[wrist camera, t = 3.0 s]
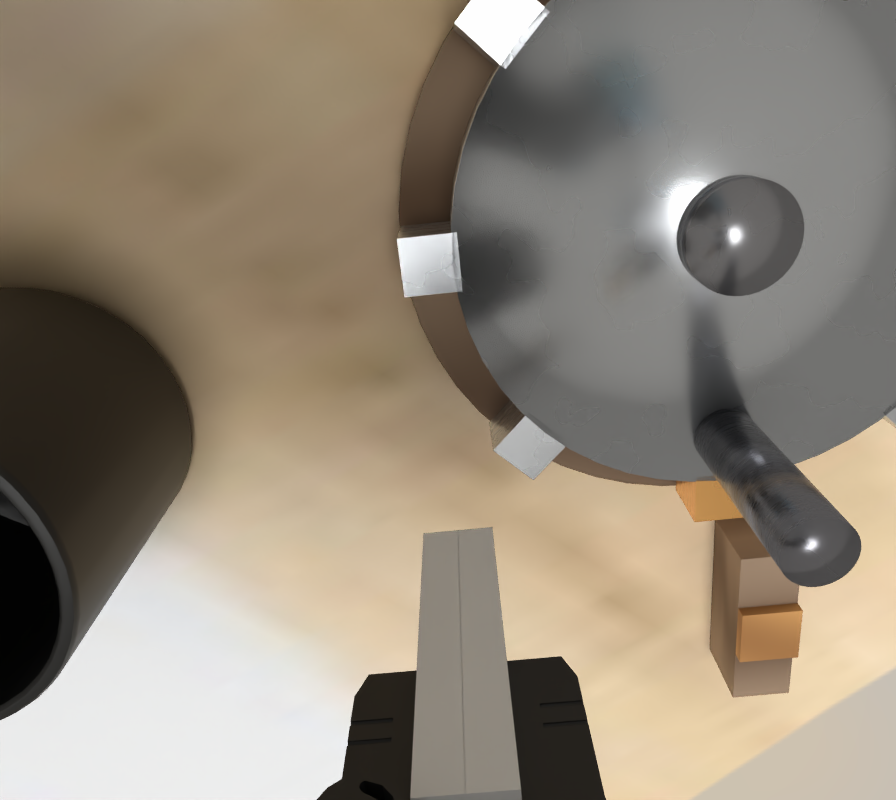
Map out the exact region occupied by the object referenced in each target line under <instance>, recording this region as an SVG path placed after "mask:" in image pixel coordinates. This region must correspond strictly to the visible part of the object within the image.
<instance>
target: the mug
mask: <svg viewBox="0 0 896 800" xmlns="http://www.w3.org/2000/svg"><path fill="white" fill-rule="evenodd" d="M190 458H191V428H190V422H189V415H188V411H187V408H186V405H185V402H184V399H183V396H182V393H181V391H180V389H179V386H178V385H177V383H176V381H175V379H174V377H173V375H172V373H171V371H170V370H169V368H168V367H167V366H166V364H165V363H164V361H163V360H162V359H161V357H160V356H159V355H158V354H157V352H156V351H155V350H154V349H153V348H152V347H151V346H150V345H149V344H148V343H147V342H146V341H145V339H144V338H143V337H142V336H140V335H139V334H138V333H137V332H135V331H134V330H133V329H132V328H130V327H129V326H128V325H127V324H125V323H124V322H122V321H121V320H120V319H118V318H116V317H115V316H113V315H111V314H110V313H108V312H106V311H105V310H103V309H101V308H99V307H96V306H94V305H92V304H90V303H87V302H85V301H83V300H80V299H77V298H74V297H71V296H67V295H64V294H60V293H57V292H53V291H47V290H40V289H33V288H1V289H0V720H2V719H4V718H6V717H8V716H10V715H12V714H14V713H16V712H17V711H19V710H21V709H22V708H24V707H25V706H27V705H28V704H30V703H31V702H33V701H34V700H35V699H37V698H38V697H39V696H40V695H41V694H42V693H43V692H44V691H45V690H46V689H47V688H48V687H49V686H50V685H51V684H52V683H53V682H54V680H55V679H56V678H57V677H58V676H59V674H60V673H61V671H62V670H63V668H64V666H65V665H66V663H67V662H68V660H69V659H70V657H71V656H72V654H73V653H74V651H75V650H76V648H77V647H78V645H79V644H80V642H81V640H82V639H83V637H84V636H85V634H86V633H87V631H88V630H89V628H90V627H91V625H92V624H93V622H94V621H95V619H96V618H97V616H98V615H99V613H100V611H101V610H102V608H103V607H104V605H105V604H106V602H107V601H108V599H109V598H110V596H111V595H112V593H113V592H114V590H115V589H116V587H117V586H118V584H119V582H120V581H121V579H122V578H123V576H124V575H125V573H126V572H127V570H128V569H129V567H130V566H131V564H132V563H133V561H134V560H135V558H136V557H137V555H138V553H139V552H140V550H141V549H142V547H143V546H144V544H145V543H146V541H147V540H148V538H149V537H150V535H151V534H152V532H153V531H154V529H155V528H156V526H157V524H158V523H159V521H160V520H161V518H162V517H163V515H164V514H165V512H166V511H167V509H168V508H169V506H170V505H171V503H172V502H173V500H174V498H175V497H176V495H177V494H178V492H179V491H180V489H181V487H182V485H183V482H184V480H185V477H186V474H187V471H188V467H189V462H190Z"/></svg>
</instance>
